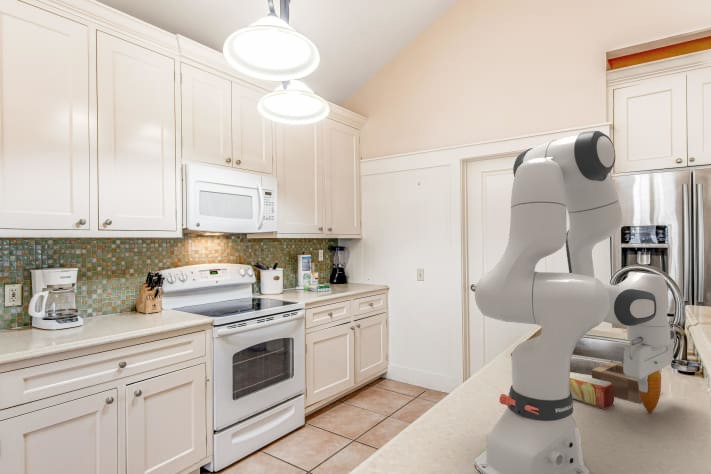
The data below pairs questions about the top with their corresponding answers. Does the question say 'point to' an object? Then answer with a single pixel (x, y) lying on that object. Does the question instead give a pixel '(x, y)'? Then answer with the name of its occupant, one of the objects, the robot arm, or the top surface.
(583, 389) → the snack package
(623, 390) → the socket block
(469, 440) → the top surface
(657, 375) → the carrot
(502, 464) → the robot arm
